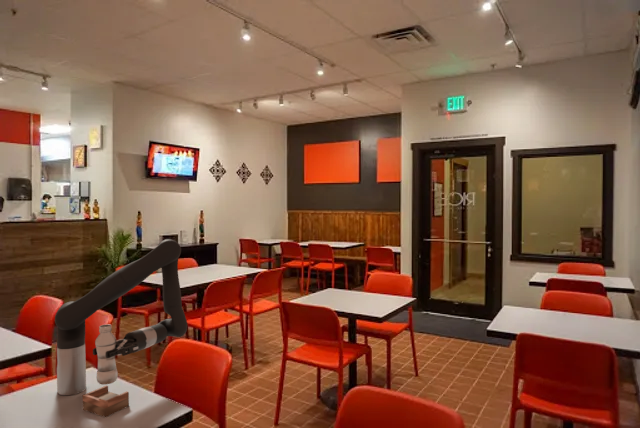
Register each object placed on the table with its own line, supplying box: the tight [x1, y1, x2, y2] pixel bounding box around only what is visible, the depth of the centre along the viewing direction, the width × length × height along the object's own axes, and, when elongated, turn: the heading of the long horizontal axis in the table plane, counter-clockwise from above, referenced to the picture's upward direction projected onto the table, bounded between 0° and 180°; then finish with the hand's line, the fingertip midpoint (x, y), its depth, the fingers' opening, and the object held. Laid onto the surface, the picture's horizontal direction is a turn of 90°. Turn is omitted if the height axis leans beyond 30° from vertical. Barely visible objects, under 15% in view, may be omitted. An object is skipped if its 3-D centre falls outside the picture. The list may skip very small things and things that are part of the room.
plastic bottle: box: [94, 323, 119, 386], centre depth 151 cm, size 6×7×20 cm
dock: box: [82, 384, 130, 418], centre depth 151 cm, size 12×9×5 cm
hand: (99, 353), depth 149 cm, fingers closed on plastic bottle, 6 cm apart
